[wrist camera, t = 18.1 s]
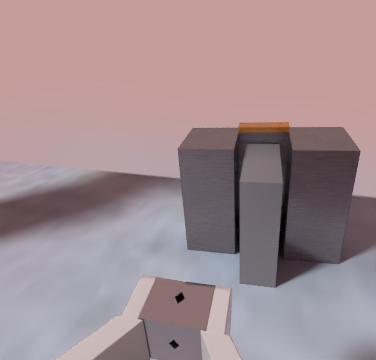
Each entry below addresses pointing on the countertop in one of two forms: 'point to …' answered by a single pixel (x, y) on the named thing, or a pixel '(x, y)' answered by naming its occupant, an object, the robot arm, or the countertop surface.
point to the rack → (291, 195)
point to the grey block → (260, 214)
